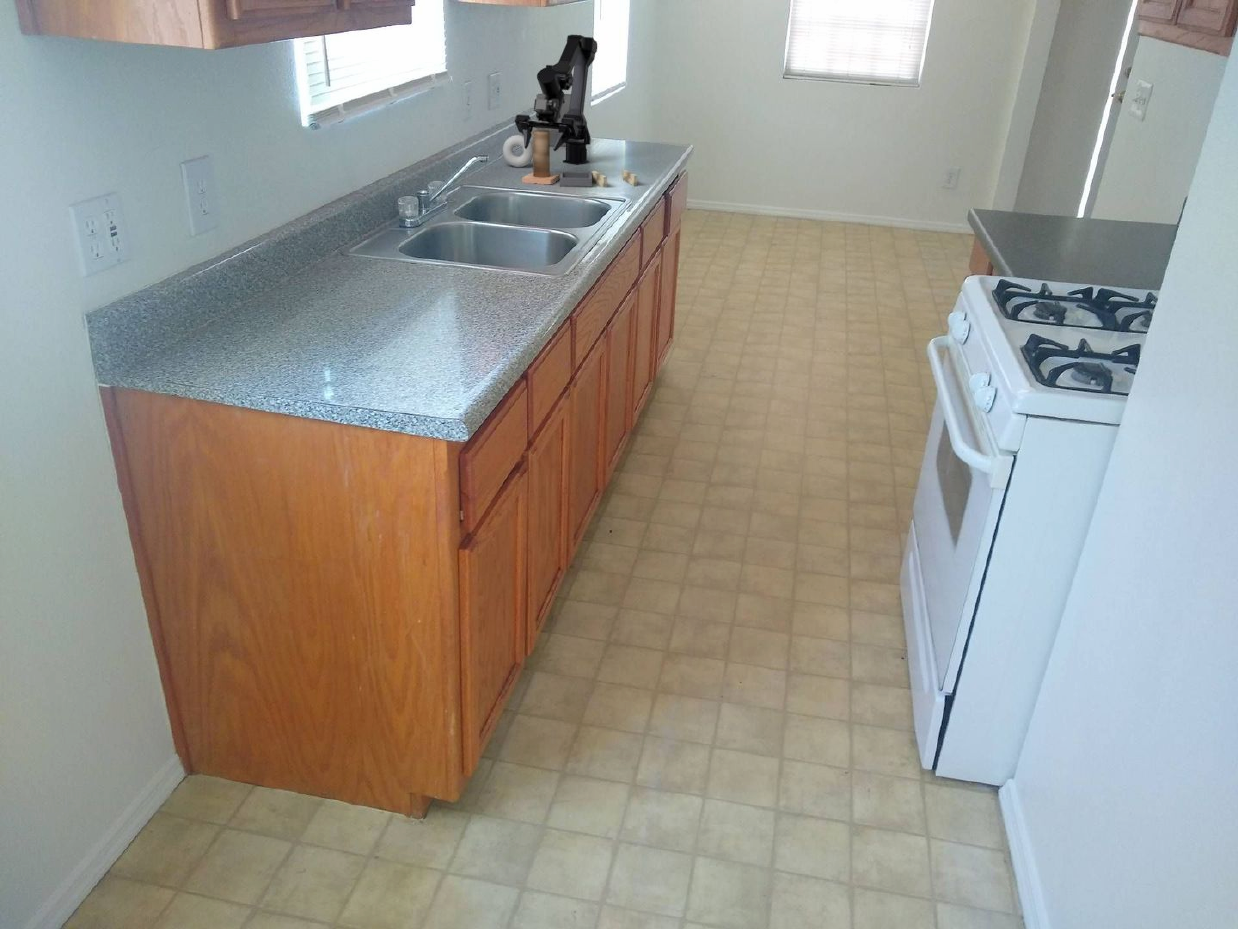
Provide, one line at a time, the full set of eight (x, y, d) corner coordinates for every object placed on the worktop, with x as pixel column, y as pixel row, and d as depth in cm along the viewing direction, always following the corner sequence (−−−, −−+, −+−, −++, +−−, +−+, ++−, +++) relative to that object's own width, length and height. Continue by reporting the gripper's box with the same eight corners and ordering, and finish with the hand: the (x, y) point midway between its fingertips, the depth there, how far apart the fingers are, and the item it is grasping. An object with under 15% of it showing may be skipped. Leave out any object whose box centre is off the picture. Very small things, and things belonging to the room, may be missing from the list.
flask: (577, 144, 350) (577, 86, 341) (578, 147, 345) (579, 88, 336) (536, 143, 349) (536, 85, 339) (537, 146, 344) (536, 87, 334)
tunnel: (591, 180, 293) (591, 170, 292) (624, 179, 297) (624, 169, 296) (603, 187, 285) (603, 177, 284) (637, 185, 289) (637, 175, 288)
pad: (532, 176, 295) (532, 171, 295) (560, 179, 293) (560, 174, 293) (522, 182, 288) (522, 177, 287) (550, 184, 286) (550, 179, 285)
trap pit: (560, 179, 293) (560, 171, 292) (591, 180, 293) (591, 172, 292) (559, 186, 284) (559, 177, 283) (591, 187, 285) (591, 178, 284)
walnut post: (531, 174, 291) (531, 130, 285) (547, 173, 293) (547, 129, 286) (535, 177, 287) (534, 132, 281) (551, 177, 288) (551, 132, 282)
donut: (534, 166, 310) (534, 134, 305) (532, 168, 307) (532, 136, 302) (504, 165, 310) (503, 133, 306) (502, 167, 307) (501, 135, 303)
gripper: (516, 85, 284) (503, 129, 279) (575, 89, 279) (563, 134, 275) (525, 110, 294) (513, 152, 290) (583, 114, 290) (571, 158, 286)
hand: (539, 149), depth 285 cm, fingers open, 9 cm apart
